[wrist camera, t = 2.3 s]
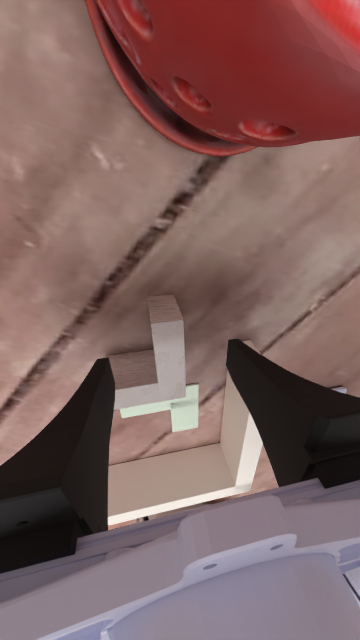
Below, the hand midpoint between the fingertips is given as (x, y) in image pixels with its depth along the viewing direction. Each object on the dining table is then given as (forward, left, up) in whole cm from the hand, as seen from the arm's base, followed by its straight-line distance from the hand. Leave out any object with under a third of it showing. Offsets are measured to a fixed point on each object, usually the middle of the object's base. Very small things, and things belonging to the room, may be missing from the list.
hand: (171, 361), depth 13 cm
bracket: (+2, +2, -5) cm, 6 cm away
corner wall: (0, +13, -5) cm, 14 cm away
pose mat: (+1, +12, -5) cm, 13 cm away
